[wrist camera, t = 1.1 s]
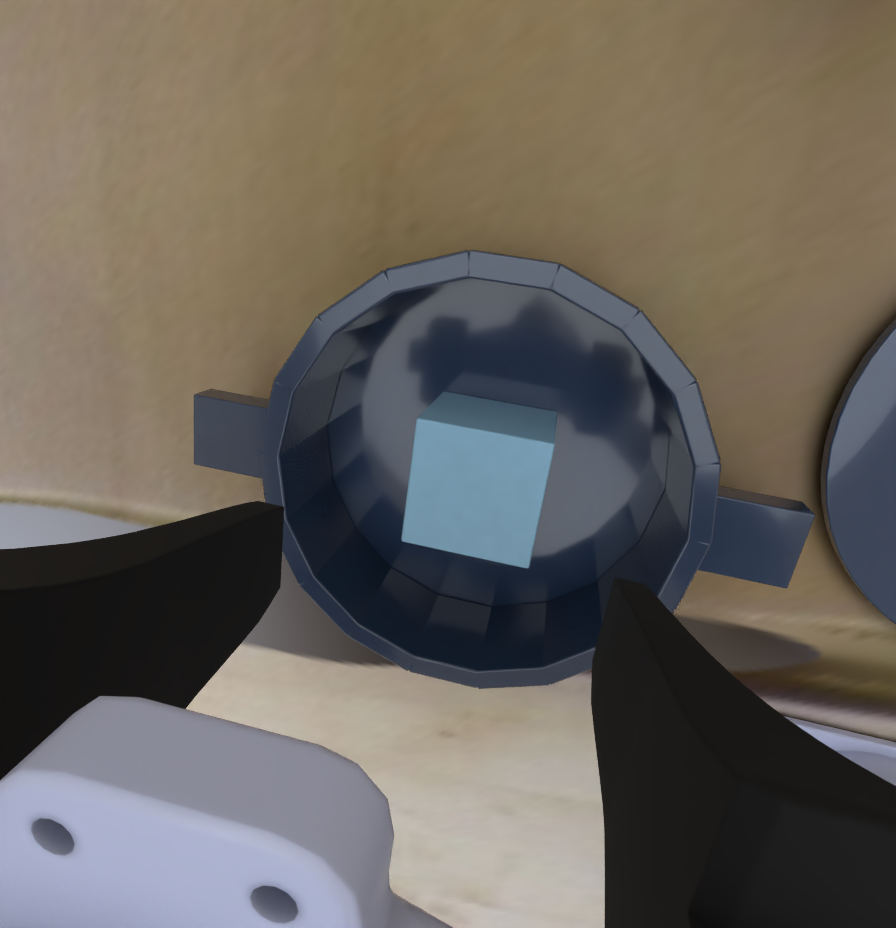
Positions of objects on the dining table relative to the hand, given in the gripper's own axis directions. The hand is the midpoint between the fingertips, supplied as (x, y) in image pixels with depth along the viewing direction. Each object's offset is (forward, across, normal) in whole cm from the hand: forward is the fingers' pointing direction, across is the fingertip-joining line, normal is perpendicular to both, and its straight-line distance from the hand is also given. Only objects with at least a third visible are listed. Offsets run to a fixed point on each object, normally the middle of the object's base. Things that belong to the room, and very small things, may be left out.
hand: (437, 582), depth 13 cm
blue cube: (+9, 0, 0) cm, 9 cm away
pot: (+10, 0, 0) cm, 10 cm away
